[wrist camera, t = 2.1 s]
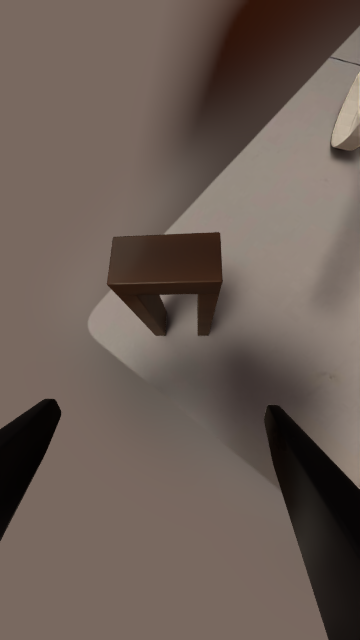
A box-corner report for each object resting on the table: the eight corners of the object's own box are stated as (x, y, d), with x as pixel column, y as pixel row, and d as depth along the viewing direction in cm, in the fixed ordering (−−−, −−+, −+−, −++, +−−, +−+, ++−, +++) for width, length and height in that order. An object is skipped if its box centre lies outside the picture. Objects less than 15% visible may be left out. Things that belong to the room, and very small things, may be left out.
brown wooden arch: (208, 335, 22) (223, 281, 10) (155, 335, 23) (106, 284, 10) (207, 310, 23) (220, 231, 11) (156, 311, 24) (112, 236, 11)
